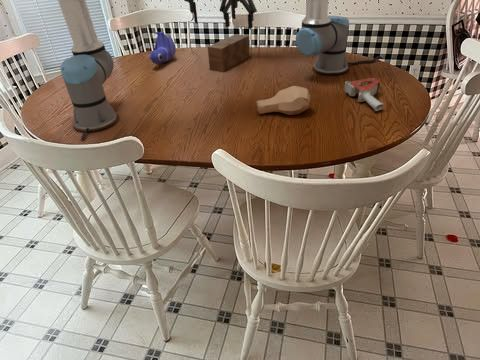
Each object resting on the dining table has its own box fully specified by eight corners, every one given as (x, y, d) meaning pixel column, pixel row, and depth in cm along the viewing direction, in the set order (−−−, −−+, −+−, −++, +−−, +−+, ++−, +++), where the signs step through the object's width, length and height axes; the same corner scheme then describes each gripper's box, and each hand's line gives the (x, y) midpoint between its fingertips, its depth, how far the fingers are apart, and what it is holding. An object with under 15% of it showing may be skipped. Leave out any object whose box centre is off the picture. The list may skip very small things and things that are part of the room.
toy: (164, 64, 198) (143, 70, 176) (159, 31, 191) (137, 33, 169) (180, 63, 196) (162, 69, 173) (176, 30, 189) (156, 32, 167)
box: (223, 71, 171) (221, 48, 165) (209, 69, 175) (207, 46, 168) (249, 57, 187) (248, 35, 181) (236, 55, 191) (235, 34, 185)
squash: (314, 116, 128) (313, 95, 122) (259, 125, 130) (256, 105, 124) (308, 99, 136) (307, 78, 129) (257, 108, 138) (253, 88, 131)
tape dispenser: (379, 117, 128) (393, 93, 140) (382, 104, 124) (396, 81, 137) (332, 106, 135) (349, 84, 148) (334, 93, 132) (351, 72, 144)
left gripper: (243, -54, 119) (246, 14, 131) (168, -49, 114) (178, 22, 127) (249, -53, 113) (251, 18, 125) (171, -47, 108) (181, 26, 121)
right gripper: (262, -22, 162) (264, 27, 175) (218, -22, 174) (222, 24, 186) (254, -20, 157) (256, 30, 170) (209, -20, 169) (214, 27, 181)
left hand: (215, 20), depth 126 cm, fingers open, 13 cm apart
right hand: (238, 27), depth 178 cm, fingers open, 13 cm apart
